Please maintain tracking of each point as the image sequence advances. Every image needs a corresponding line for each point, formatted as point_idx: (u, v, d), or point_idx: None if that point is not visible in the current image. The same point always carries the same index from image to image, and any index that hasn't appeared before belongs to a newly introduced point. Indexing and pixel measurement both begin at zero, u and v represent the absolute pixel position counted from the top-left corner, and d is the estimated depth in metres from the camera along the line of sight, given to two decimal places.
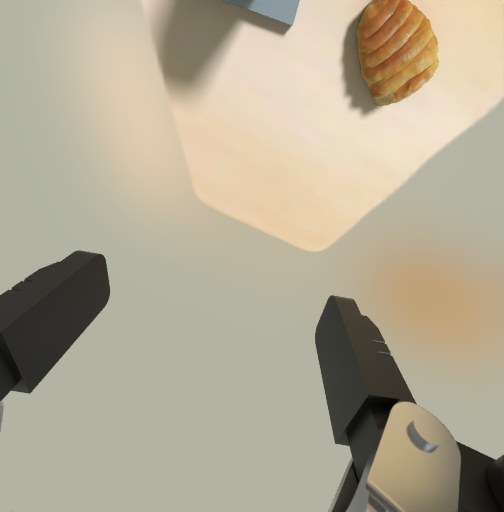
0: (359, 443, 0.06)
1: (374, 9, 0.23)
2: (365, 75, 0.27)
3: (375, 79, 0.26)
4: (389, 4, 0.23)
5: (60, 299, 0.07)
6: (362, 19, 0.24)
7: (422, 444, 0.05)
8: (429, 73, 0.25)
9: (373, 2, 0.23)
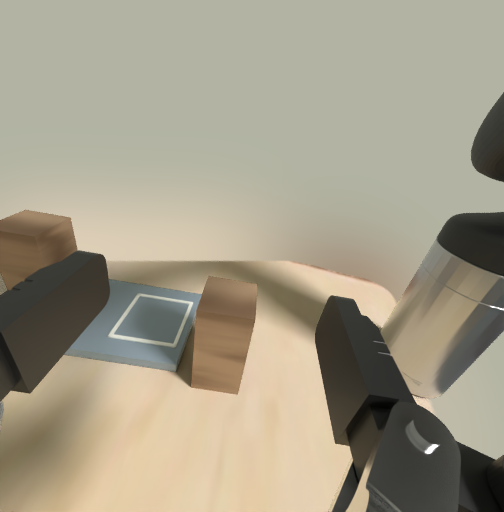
0: (359, 443, 0.06)
1: None
2: None
3: None
4: None
5: (61, 299, 0.07)
6: None
7: (422, 444, 0.05)
8: None
9: None
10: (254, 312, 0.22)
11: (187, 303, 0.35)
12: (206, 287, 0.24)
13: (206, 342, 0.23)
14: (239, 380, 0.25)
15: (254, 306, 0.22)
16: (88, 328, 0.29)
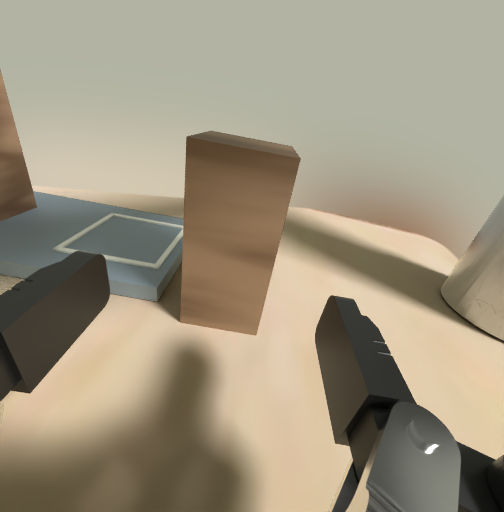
0: (359, 443, 0.06)
1: None
2: None
3: None
4: None
5: (61, 299, 0.07)
6: None
7: (422, 444, 0.05)
8: None
9: None
10: (296, 155, 0.12)
11: (180, 227, 0.25)
12: (206, 133, 0.13)
13: (205, 221, 0.13)
14: (260, 306, 0.15)
15: (294, 152, 0.12)
16: (25, 239, 0.19)
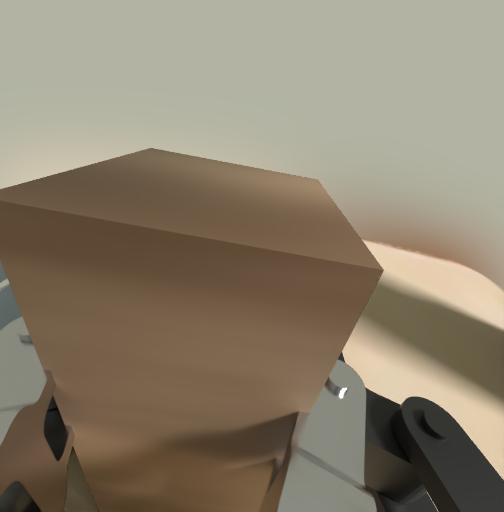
0: None
1: None
2: None
3: None
4: None
5: None
6: None
7: (332, 388, 0.05)
8: None
9: None
10: (355, 239, 0.04)
11: None
12: (124, 158, 0.06)
13: (107, 394, 0.05)
14: (253, 510, 0.07)
15: (340, 220, 0.04)
16: None
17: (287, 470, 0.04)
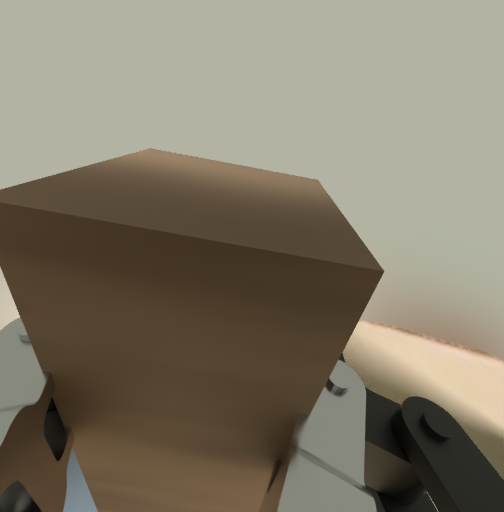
0: None
1: None
2: None
3: None
4: None
5: None
6: None
7: (332, 388, 0.05)
8: None
9: None
10: (355, 239, 0.04)
11: None
12: (124, 159, 0.06)
13: (106, 395, 0.05)
14: (253, 511, 0.07)
15: (340, 220, 0.04)
16: None
17: (287, 470, 0.04)
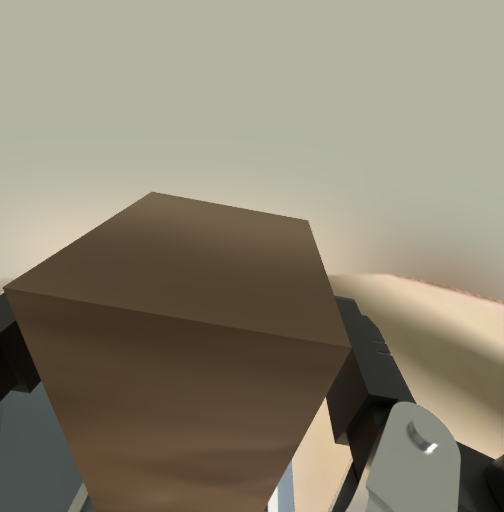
0: (359, 443, 0.06)
1: None
2: None
3: None
4: None
5: None
6: None
7: (422, 444, 0.05)
8: None
9: None
10: (331, 307, 0.04)
11: None
12: (127, 212, 0.06)
13: (112, 434, 0.05)
14: None
15: (322, 281, 0.05)
16: None
17: None
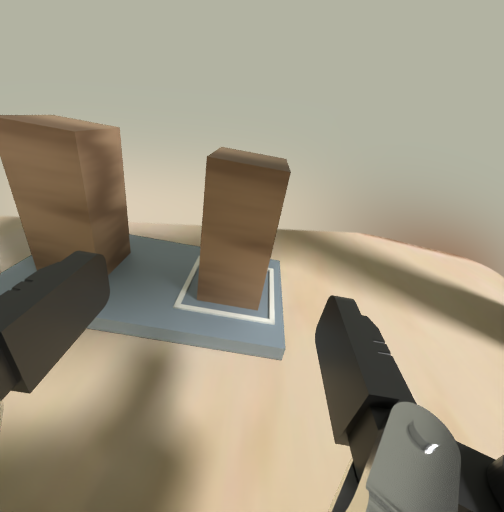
0: (358, 443, 0.06)
1: None
2: None
3: None
4: None
5: (60, 299, 0.07)
6: None
7: (422, 444, 0.05)
8: None
9: None
10: (287, 169, 0.15)
11: None
12: (219, 150, 0.17)
13: (219, 219, 0.17)
14: (261, 286, 0.19)
15: (286, 166, 0.16)
16: (143, 295, 0.20)
17: None
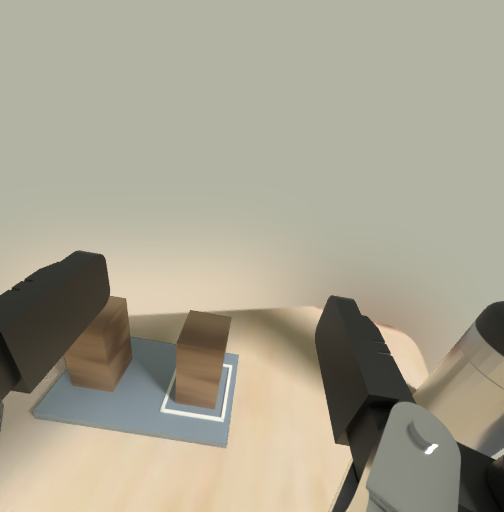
0: (359, 443, 0.06)
1: None
2: None
3: None
4: None
5: (60, 299, 0.07)
6: None
7: (422, 444, 0.05)
8: None
9: None
10: (224, 344, 0.27)
11: (227, 367, 0.37)
12: (187, 321, 0.28)
13: (186, 367, 0.28)
14: (215, 398, 0.30)
15: (225, 338, 0.27)
16: (140, 402, 0.31)
17: None
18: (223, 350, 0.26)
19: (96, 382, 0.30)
